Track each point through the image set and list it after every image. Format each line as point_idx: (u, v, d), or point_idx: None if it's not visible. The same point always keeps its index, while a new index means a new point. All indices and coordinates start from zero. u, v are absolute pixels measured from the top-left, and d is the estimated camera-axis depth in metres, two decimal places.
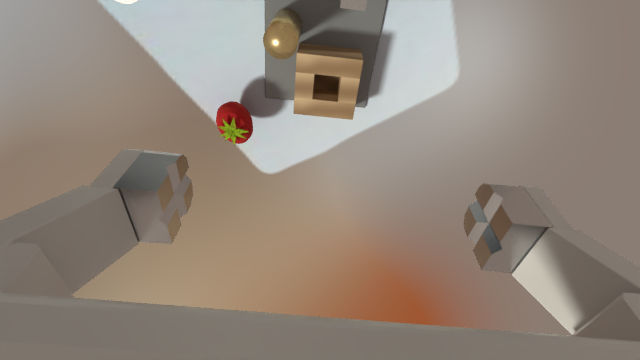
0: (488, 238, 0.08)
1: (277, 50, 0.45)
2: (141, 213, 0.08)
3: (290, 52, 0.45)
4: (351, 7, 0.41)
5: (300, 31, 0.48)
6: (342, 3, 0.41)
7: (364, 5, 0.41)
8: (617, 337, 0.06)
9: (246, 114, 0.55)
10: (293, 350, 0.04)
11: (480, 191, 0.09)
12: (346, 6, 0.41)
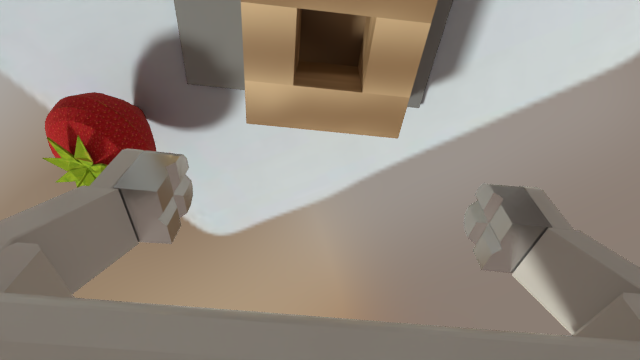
0: (488, 238, 0.08)
1: None
2: (141, 213, 0.08)
3: None
4: None
5: None
6: None
7: None
8: (617, 337, 0.06)
9: (125, 125, 0.21)
10: (293, 350, 0.04)
11: (481, 191, 0.09)
12: None
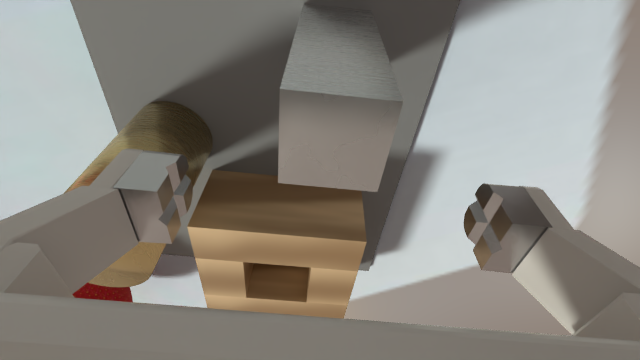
0: (488, 238, 0.08)
1: None
2: (141, 213, 0.08)
3: (136, 276, 0.14)
4: (322, 182, 0.10)
5: (193, 173, 0.17)
6: (285, 170, 0.10)
7: (374, 177, 0.10)
8: (617, 337, 0.06)
9: None
10: (293, 350, 0.04)
11: (481, 191, 0.09)
12: (301, 179, 0.10)
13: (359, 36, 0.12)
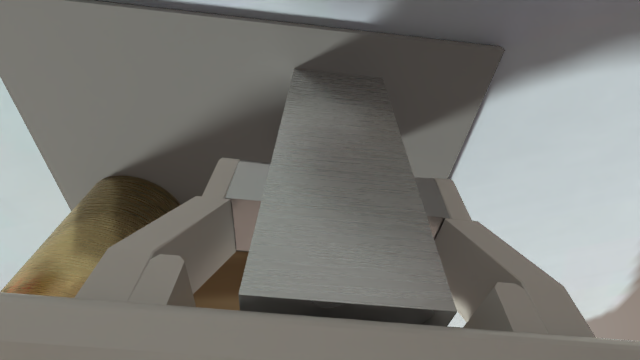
0: None
1: None
2: (246, 222, 0.08)
3: None
4: None
5: None
6: None
7: None
8: (490, 327, 0.06)
9: None
10: (293, 350, 0.04)
11: None
12: None
13: (370, 131, 0.09)
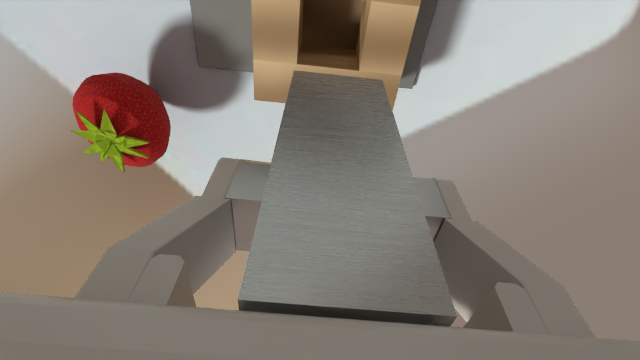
0: None
1: None
2: (246, 222, 0.08)
3: None
4: None
5: None
6: None
7: None
8: (490, 327, 0.06)
9: (145, 102, 0.24)
10: (293, 350, 0.04)
11: None
12: None
13: (370, 134, 0.09)
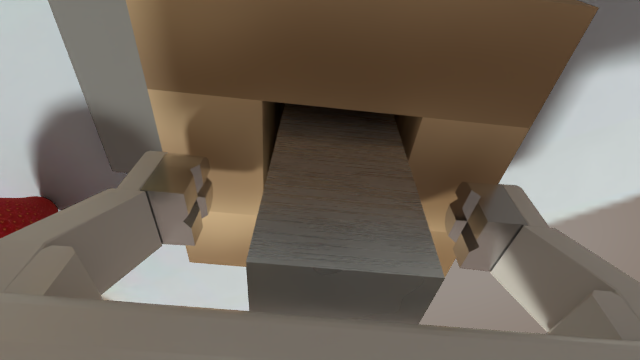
0: (466, 236, 0.08)
1: None
2: (166, 215, 0.08)
3: None
4: None
5: None
6: None
7: None
8: (587, 335, 0.06)
9: None
10: (293, 350, 0.04)
11: (460, 189, 0.09)
12: None
13: (367, 121, 0.09)
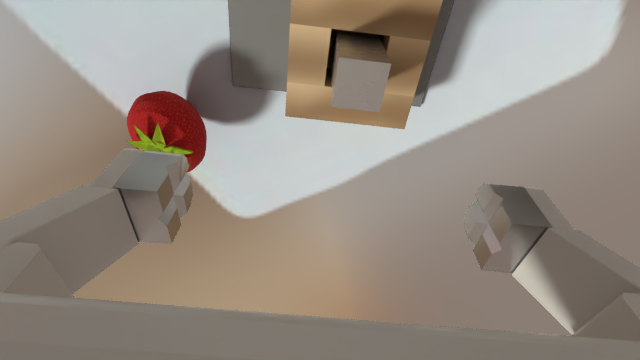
0: (488, 238, 0.08)
1: None
2: (141, 213, 0.08)
3: None
4: (353, 106, 0.21)
5: None
6: (336, 99, 0.21)
7: (378, 103, 0.21)
8: (617, 337, 0.06)
9: (189, 117, 0.27)
10: (293, 350, 0.04)
11: (480, 191, 0.09)
12: (343, 104, 0.21)
13: (369, 39, 0.24)
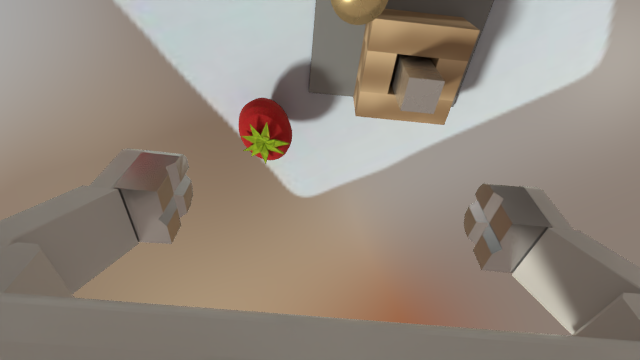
0: (488, 238, 0.08)
1: (352, 8, 0.26)
2: (141, 213, 0.08)
3: (374, 12, 0.26)
4: (415, 110, 0.31)
5: None
6: (404, 105, 0.30)
7: (433, 107, 0.30)
8: (617, 337, 0.06)
9: (284, 117, 0.36)
10: (293, 350, 0.04)
11: (480, 191, 0.09)
12: (408, 108, 0.31)
13: (423, 60, 0.33)
